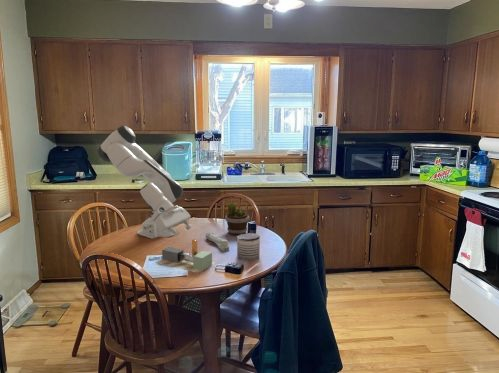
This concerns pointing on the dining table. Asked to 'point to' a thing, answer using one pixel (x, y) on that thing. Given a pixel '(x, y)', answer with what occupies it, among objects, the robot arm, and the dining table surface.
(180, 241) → the dining table surface
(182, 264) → the base board
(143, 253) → the dining table surface
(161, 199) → the robot arm
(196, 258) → the socket block
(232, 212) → the flowerpot
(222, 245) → the grey-green long bar
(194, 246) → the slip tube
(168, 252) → the dark grey rectangular block
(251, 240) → the can
